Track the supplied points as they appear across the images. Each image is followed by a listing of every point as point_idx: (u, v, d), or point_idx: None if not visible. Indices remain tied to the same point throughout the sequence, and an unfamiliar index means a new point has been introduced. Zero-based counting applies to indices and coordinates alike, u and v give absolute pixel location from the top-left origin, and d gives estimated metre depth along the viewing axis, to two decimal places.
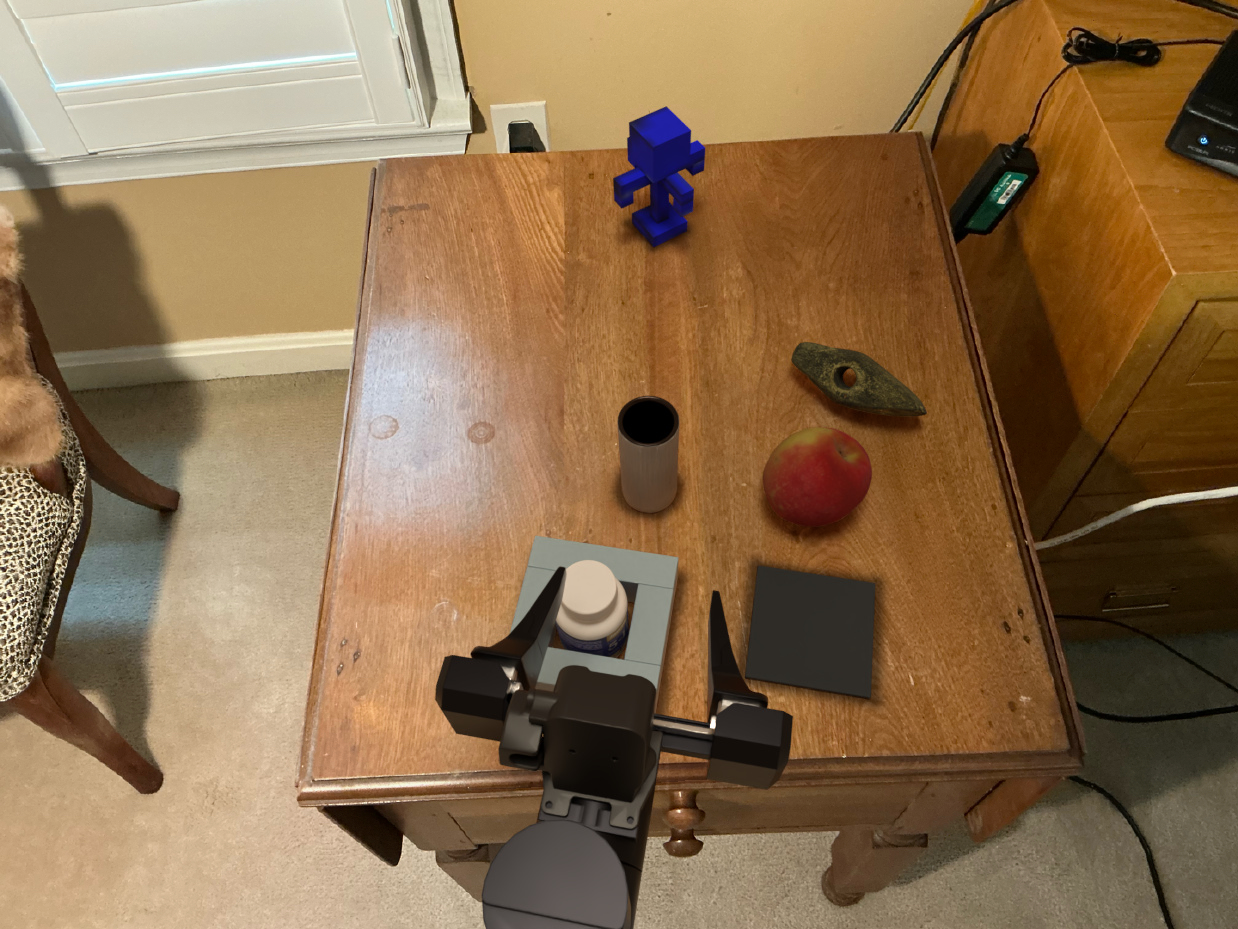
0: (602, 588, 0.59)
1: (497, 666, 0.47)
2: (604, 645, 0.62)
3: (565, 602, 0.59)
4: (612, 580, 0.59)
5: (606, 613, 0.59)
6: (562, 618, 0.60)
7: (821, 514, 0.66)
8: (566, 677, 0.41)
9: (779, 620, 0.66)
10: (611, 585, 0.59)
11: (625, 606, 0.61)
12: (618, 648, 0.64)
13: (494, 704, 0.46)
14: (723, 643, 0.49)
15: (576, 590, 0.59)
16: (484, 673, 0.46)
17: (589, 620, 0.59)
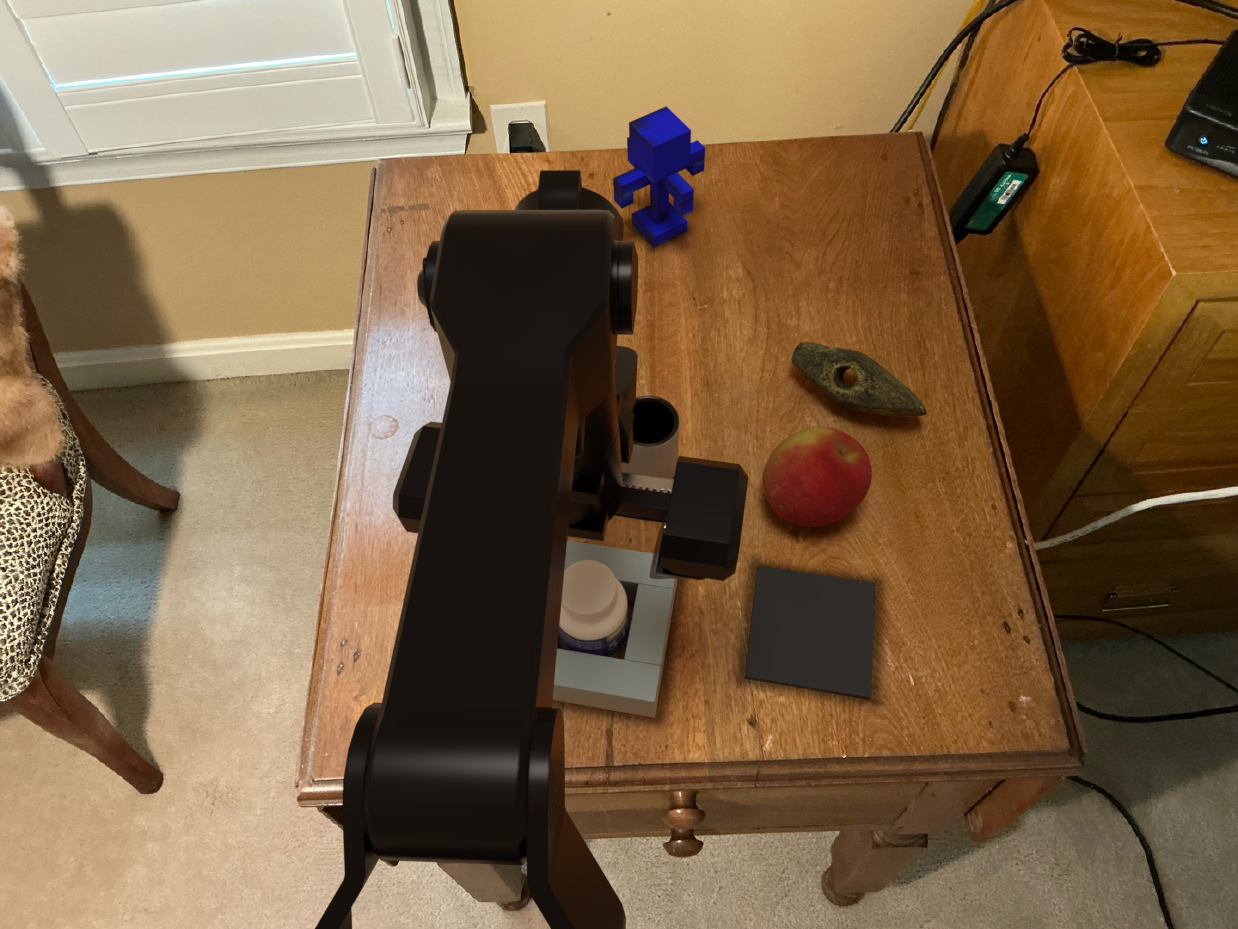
0: (602, 588, 0.59)
1: None
2: (604, 645, 0.62)
3: (565, 602, 0.59)
4: (612, 580, 0.59)
5: (606, 613, 0.59)
6: (562, 618, 0.60)
7: (821, 514, 0.66)
8: None
9: (779, 620, 0.66)
10: (611, 585, 0.59)
11: (625, 606, 0.61)
12: (618, 648, 0.64)
13: None
14: None
15: (576, 590, 0.59)
16: None
17: (589, 620, 0.59)
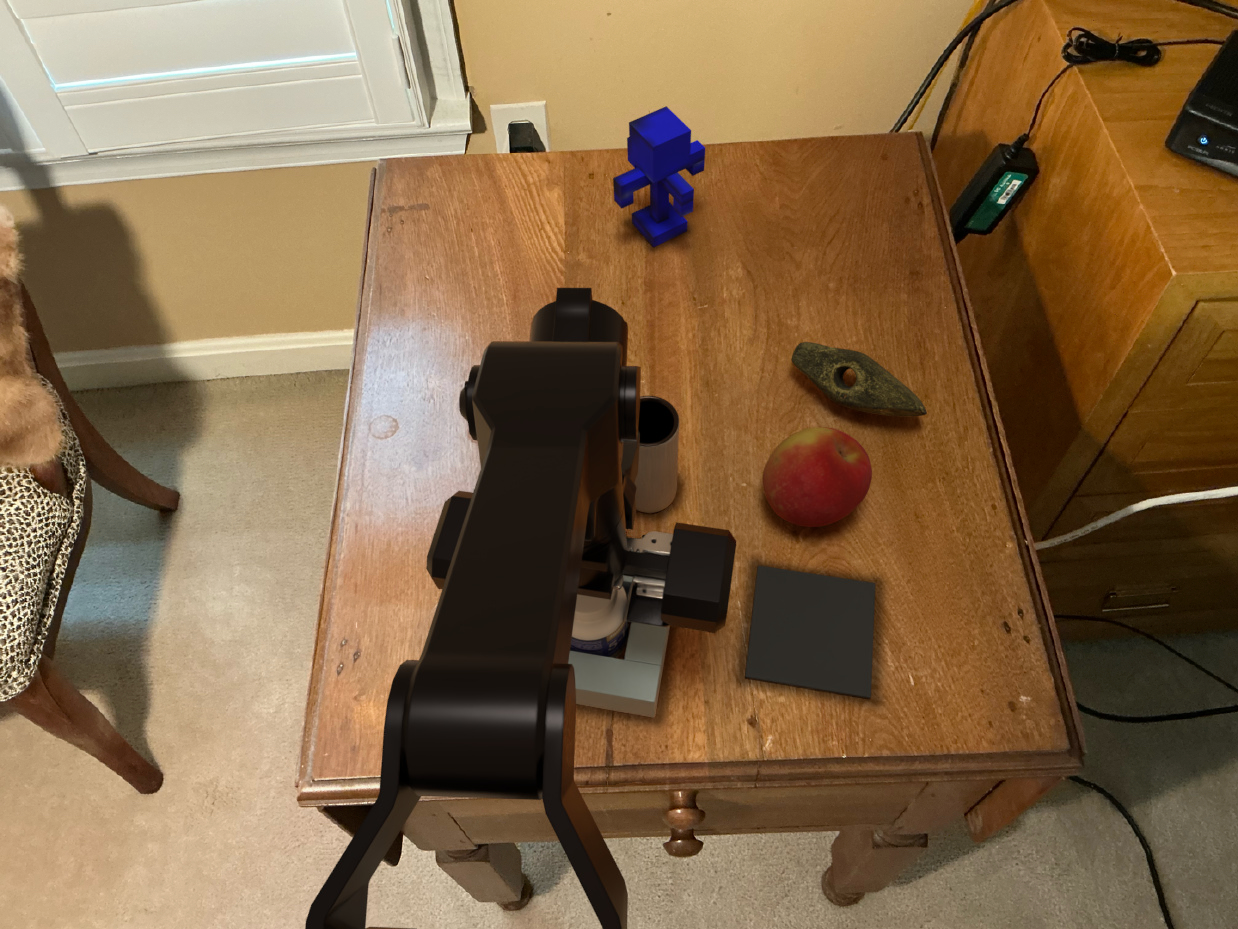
0: None
1: None
2: (603, 645, 0.62)
3: None
4: None
5: (606, 613, 0.59)
6: None
7: (821, 514, 0.66)
8: None
9: (779, 620, 0.66)
10: None
11: (625, 606, 0.61)
12: (618, 648, 0.64)
13: None
14: None
15: None
16: None
17: (589, 620, 0.59)
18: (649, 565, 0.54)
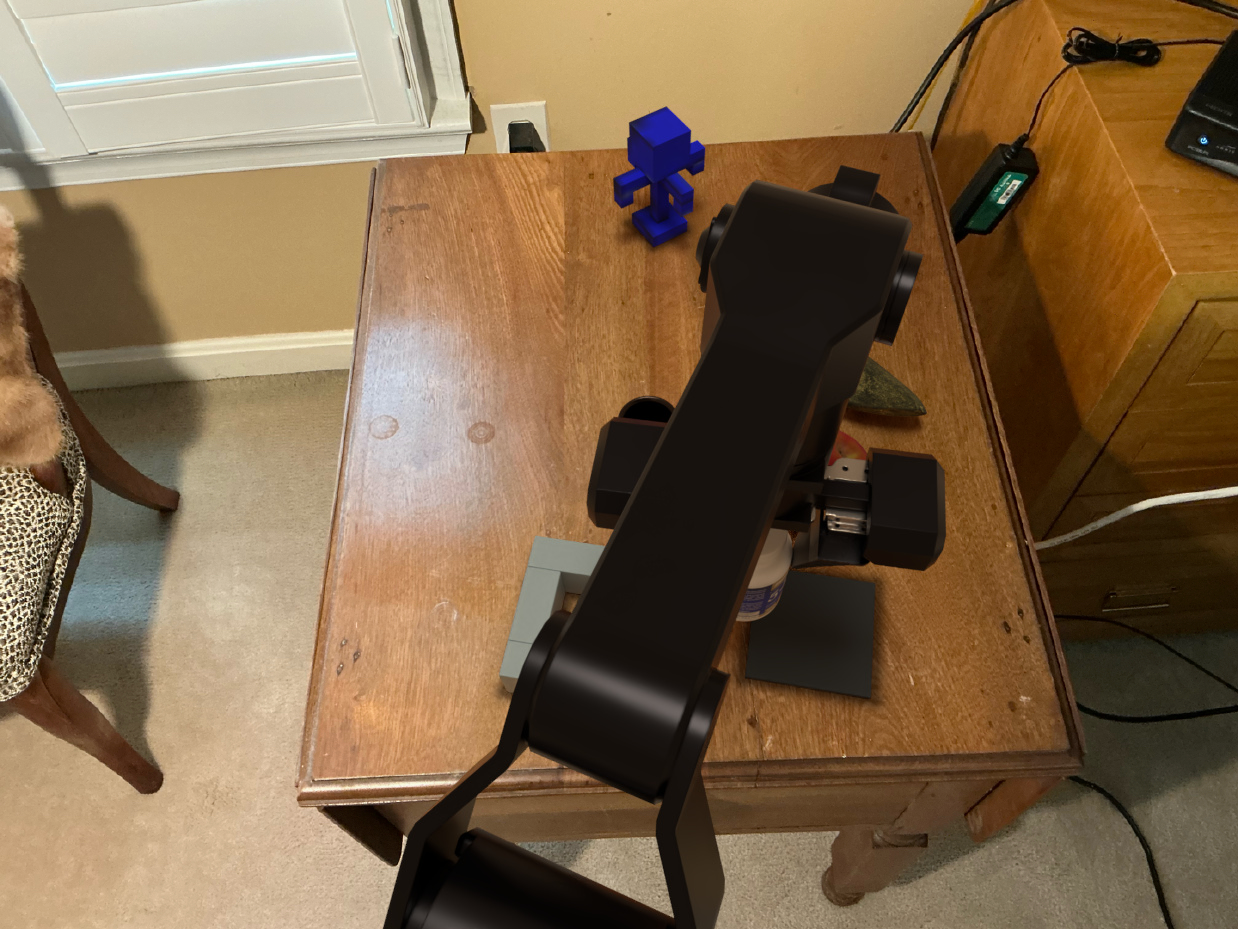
0: None
1: None
2: (766, 594, 0.55)
3: None
4: None
5: (776, 556, 0.52)
6: None
7: None
8: None
9: (779, 620, 0.66)
10: None
11: (792, 550, 0.54)
12: (775, 600, 0.57)
13: (662, 424, 0.49)
14: None
15: None
16: None
17: (757, 564, 0.52)
18: (847, 494, 0.46)
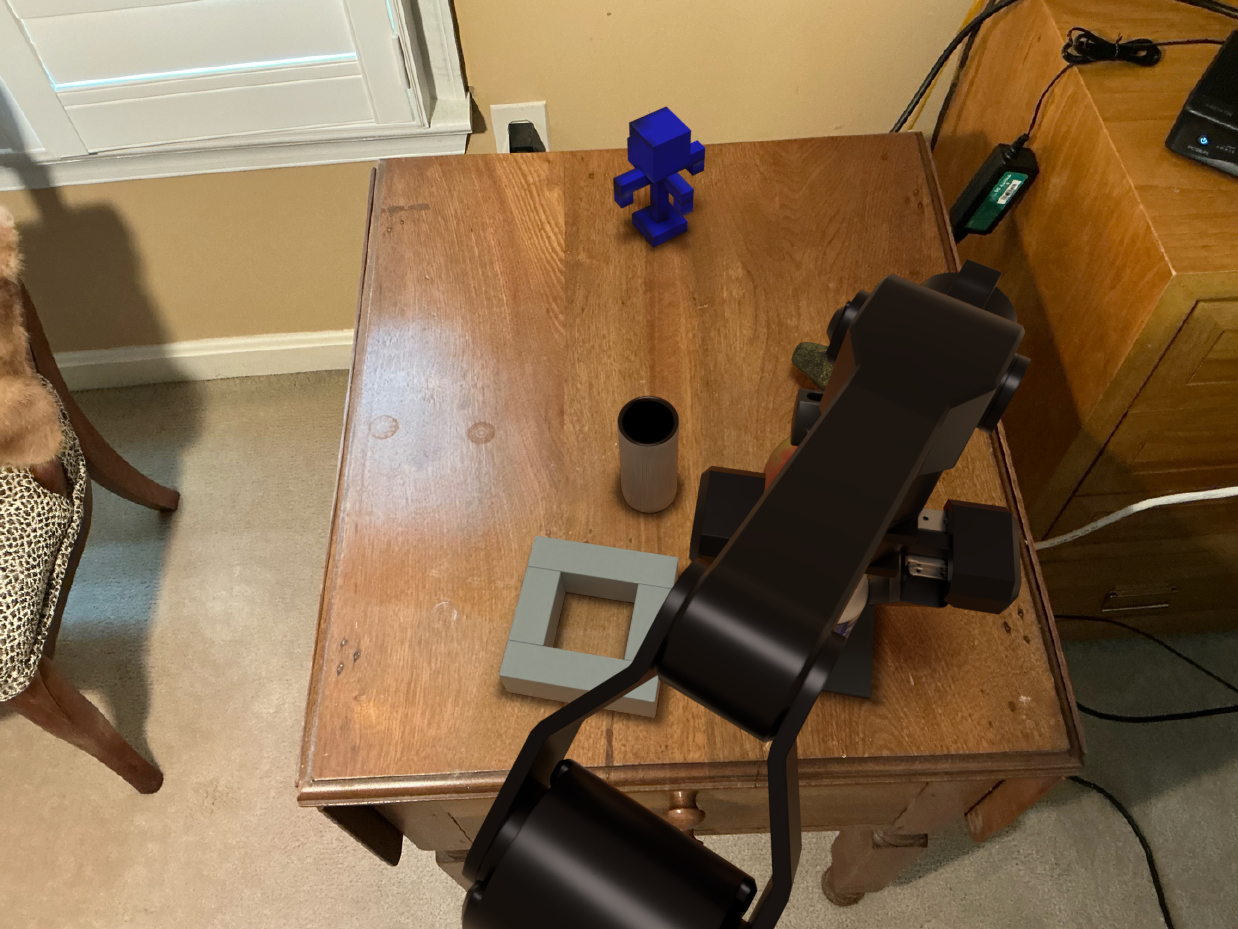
0: None
1: None
2: (843, 629, 0.59)
3: None
4: None
5: (856, 595, 0.56)
6: None
7: None
8: None
9: None
10: None
11: (868, 588, 0.58)
12: (849, 633, 0.61)
13: (757, 473, 0.54)
14: None
15: None
16: None
17: None
18: (930, 543, 0.51)
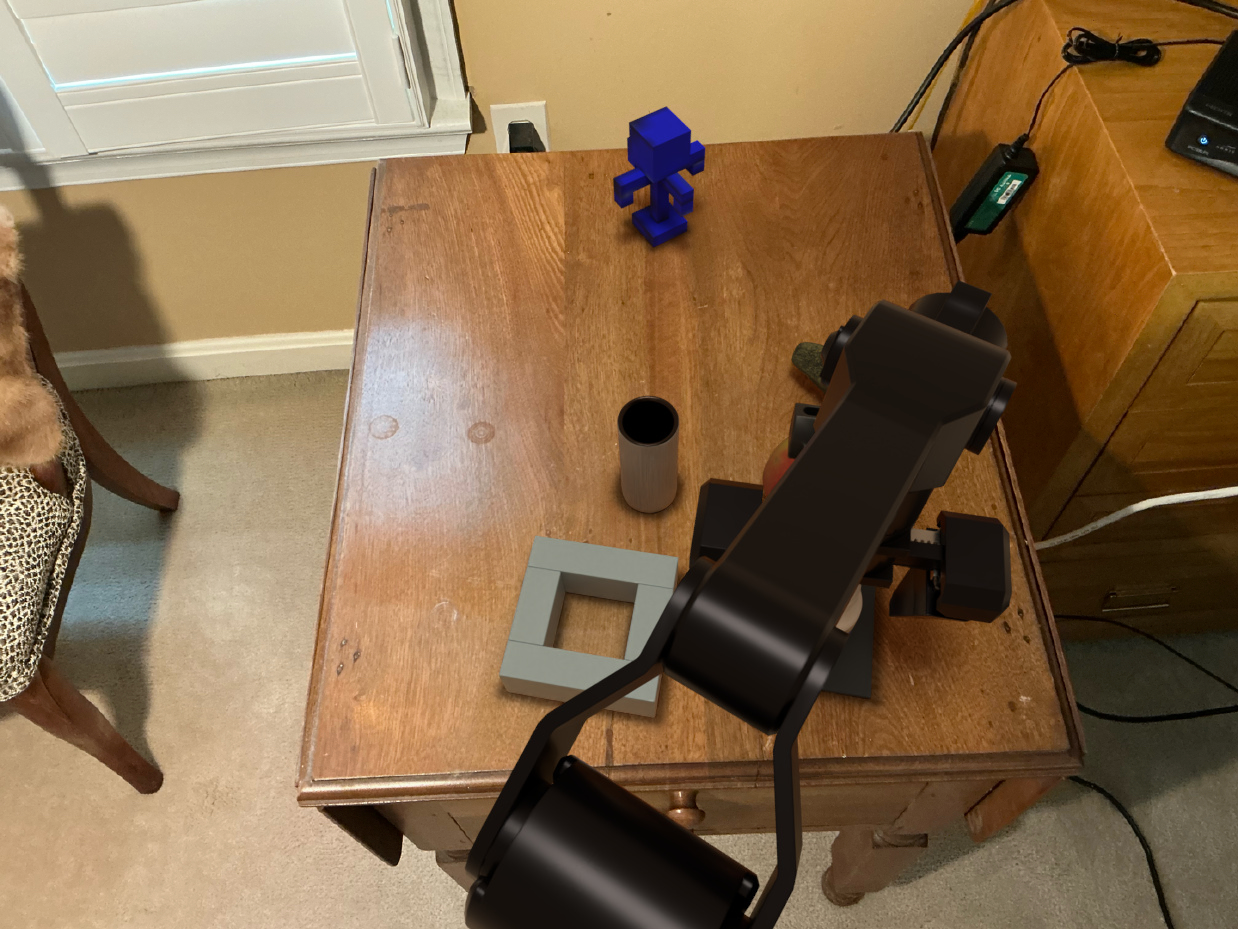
0: None
1: None
2: None
3: None
4: None
5: (850, 608, 0.58)
6: None
7: None
8: None
9: None
10: None
11: (861, 601, 0.60)
12: None
13: (755, 485, 0.55)
14: None
15: None
16: None
17: None
18: (923, 554, 0.52)
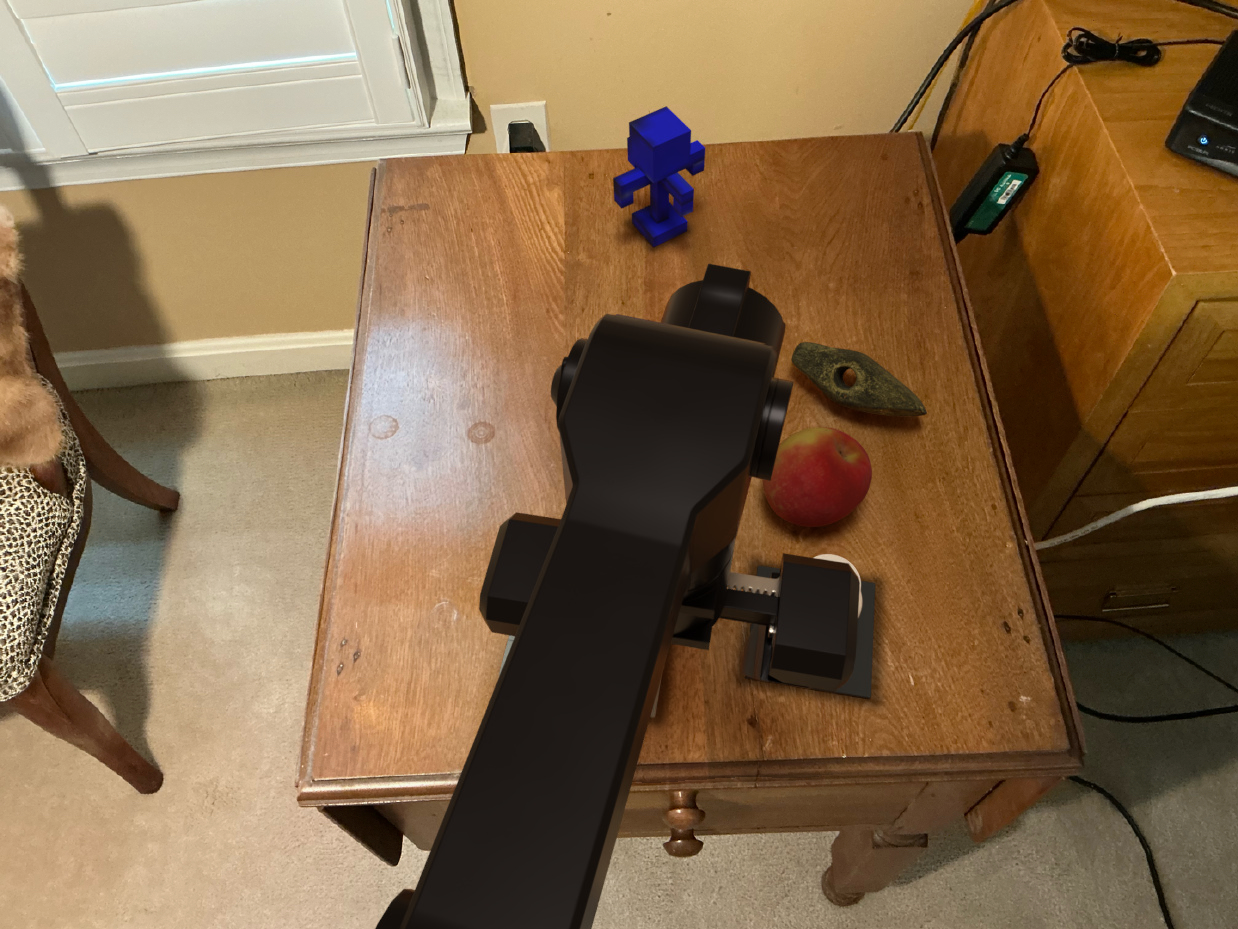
0: None
1: None
2: None
3: None
4: None
5: None
6: None
7: (821, 514, 0.66)
8: None
9: None
10: None
11: (861, 601, 0.60)
12: None
13: None
14: None
15: None
16: None
17: None
18: (754, 607, 0.44)
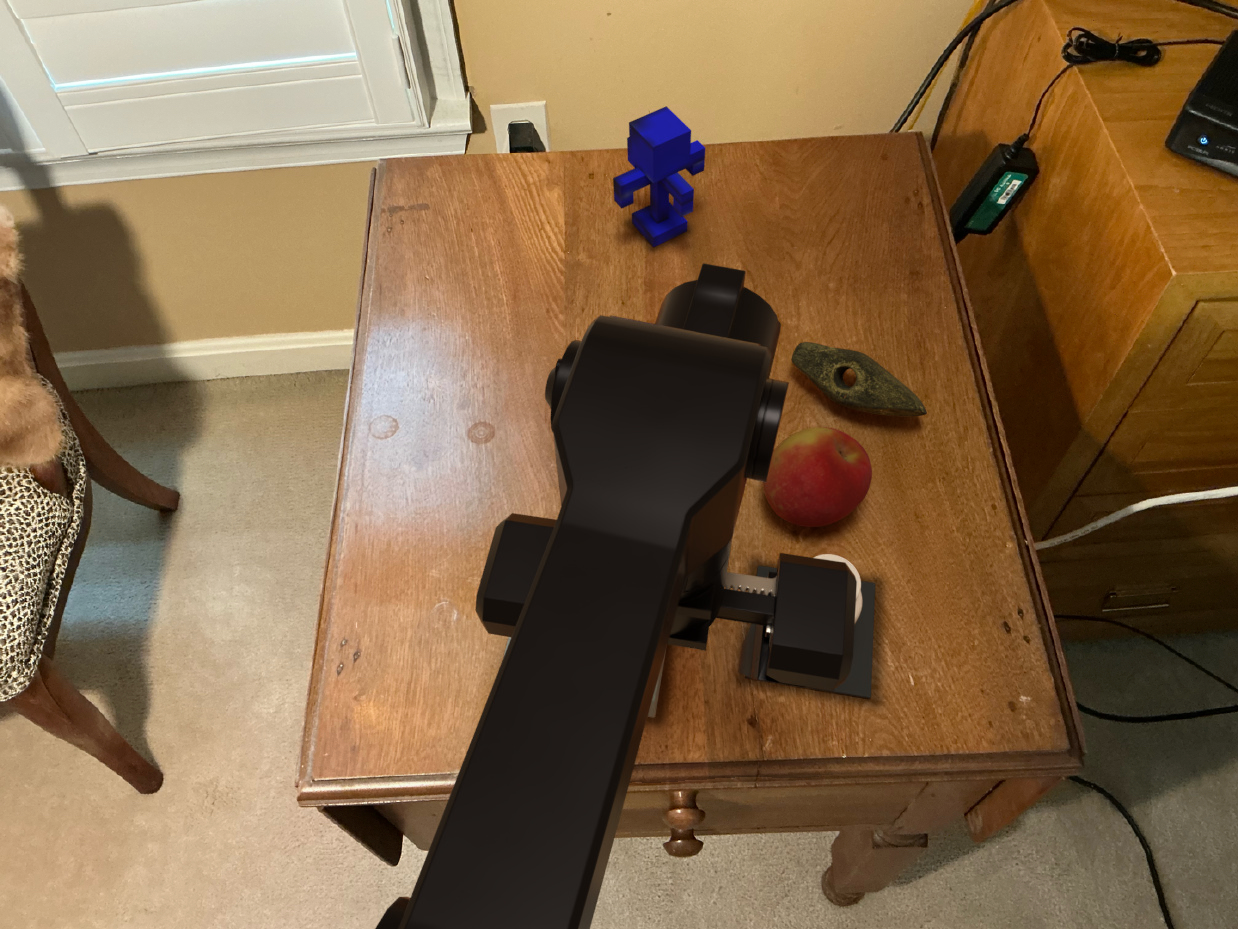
0: None
1: None
2: None
3: None
4: (856, 574, 0.58)
5: None
6: None
7: (821, 514, 0.66)
8: None
9: None
10: None
11: (861, 601, 0.60)
12: None
13: None
14: None
15: None
16: None
17: None
18: (751, 607, 0.43)
